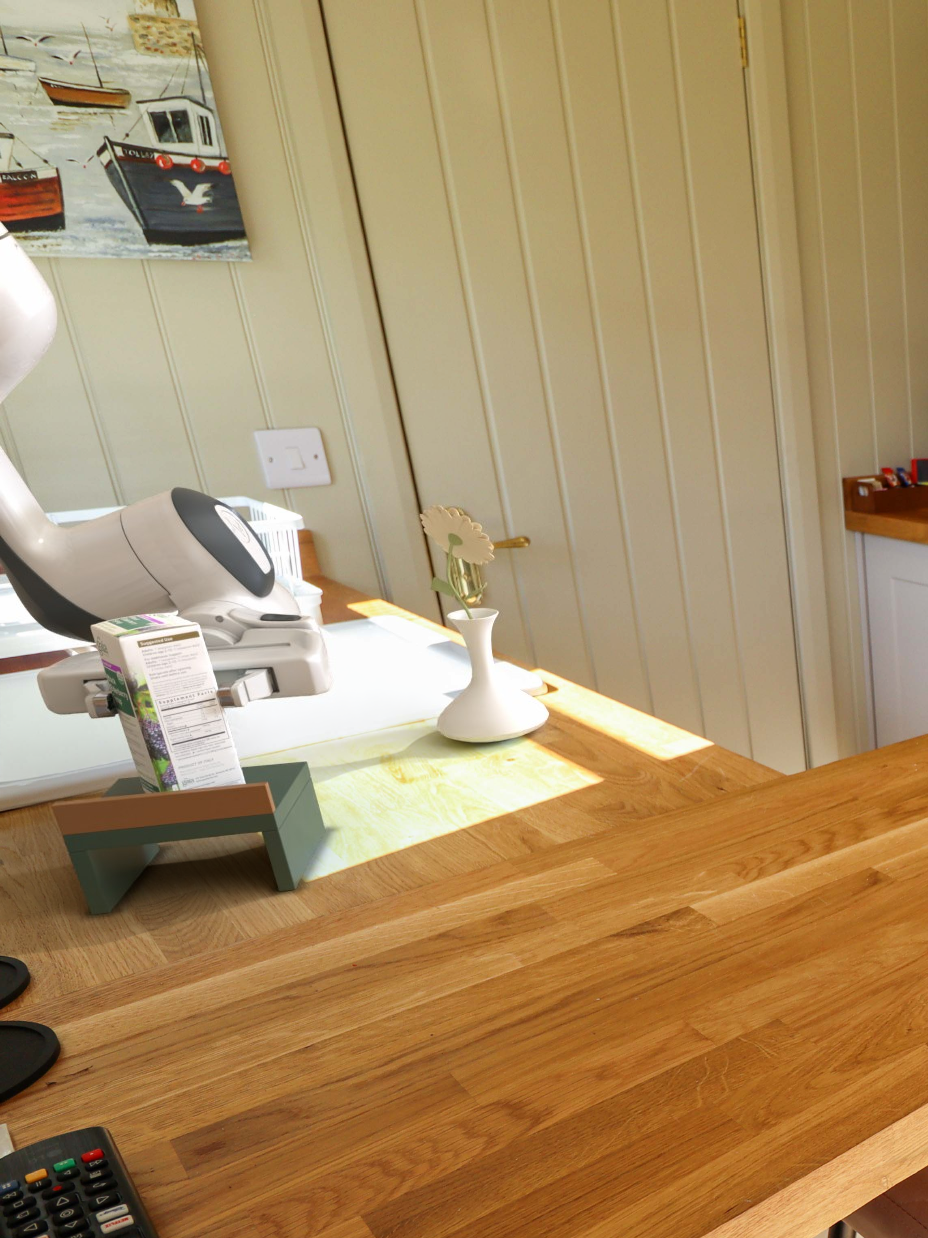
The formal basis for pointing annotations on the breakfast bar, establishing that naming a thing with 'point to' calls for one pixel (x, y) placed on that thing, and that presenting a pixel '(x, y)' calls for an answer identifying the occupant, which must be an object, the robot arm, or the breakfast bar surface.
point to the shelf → (189, 826)
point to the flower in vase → (477, 646)
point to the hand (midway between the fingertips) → (165, 703)
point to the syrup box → (168, 702)
